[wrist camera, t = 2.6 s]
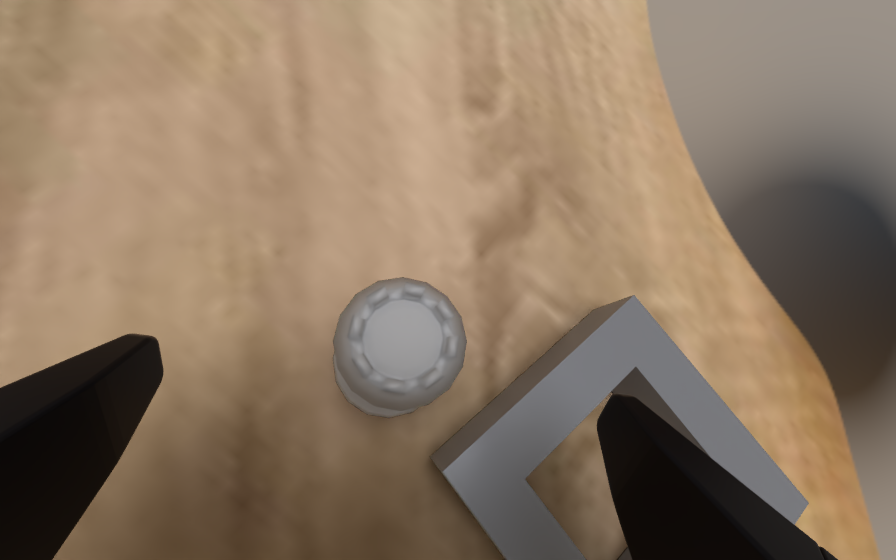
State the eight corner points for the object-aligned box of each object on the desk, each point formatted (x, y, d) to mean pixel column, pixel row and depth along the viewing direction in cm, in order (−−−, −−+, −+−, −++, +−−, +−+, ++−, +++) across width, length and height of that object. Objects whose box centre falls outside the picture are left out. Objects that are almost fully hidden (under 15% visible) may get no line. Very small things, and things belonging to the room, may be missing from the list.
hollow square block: (593, 678, 15) (645, 747, 12) (429, 456, 16) (442, 471, 13) (739, 484, 18) (809, 503, 15) (594, 309, 19) (634, 294, 16)
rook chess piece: (314, 392, 16) (260, 395, 8) (362, 291, 17) (355, 213, 9) (418, 434, 16) (461, 475, 8) (457, 331, 17) (525, 287, 10)
